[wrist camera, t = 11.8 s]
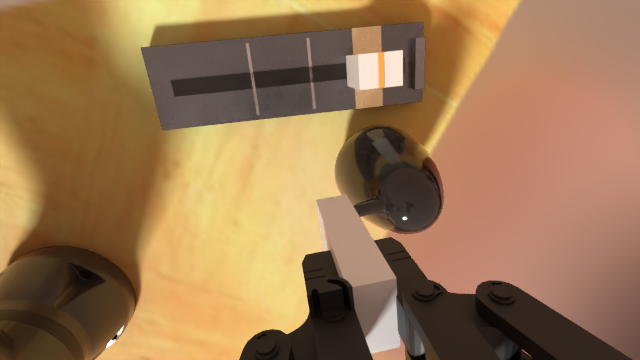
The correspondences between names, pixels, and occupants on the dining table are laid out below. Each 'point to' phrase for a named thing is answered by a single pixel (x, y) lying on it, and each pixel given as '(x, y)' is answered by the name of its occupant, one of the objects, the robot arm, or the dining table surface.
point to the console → (277, 75)
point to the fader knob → (375, 70)
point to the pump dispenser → (390, 179)
